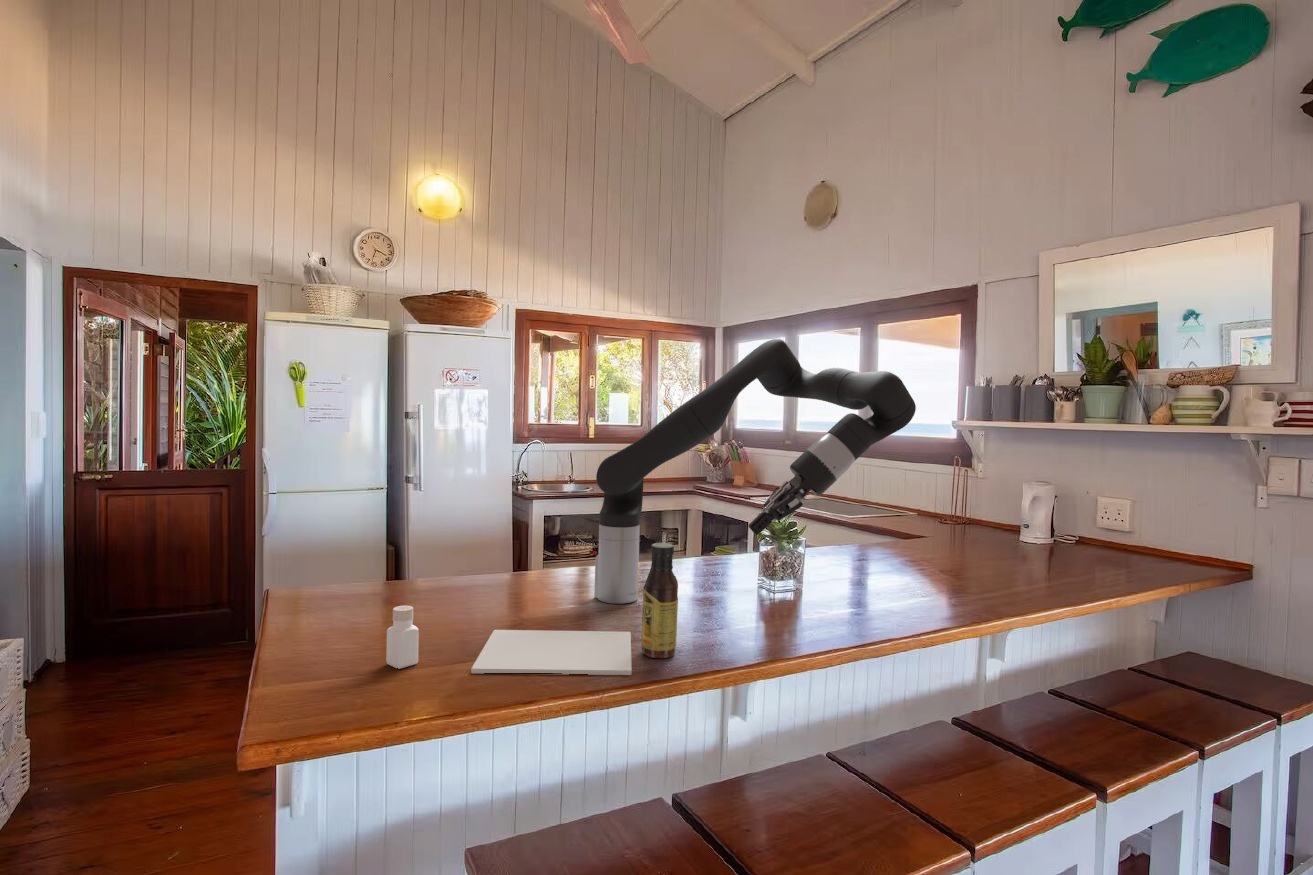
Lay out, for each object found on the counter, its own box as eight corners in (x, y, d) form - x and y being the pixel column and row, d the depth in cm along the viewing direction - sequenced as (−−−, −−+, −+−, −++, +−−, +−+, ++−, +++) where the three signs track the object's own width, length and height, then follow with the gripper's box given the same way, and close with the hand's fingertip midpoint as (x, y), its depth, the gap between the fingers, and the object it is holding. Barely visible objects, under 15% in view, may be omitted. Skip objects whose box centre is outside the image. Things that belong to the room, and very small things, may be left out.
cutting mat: (471, 673, 114) (471, 668, 114) (494, 633, 134) (494, 629, 134) (631, 675, 116) (631, 670, 116) (630, 635, 136) (630, 631, 135)
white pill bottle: (406, 658, 120) (407, 603, 120) (419, 664, 118) (420, 608, 117) (384, 664, 117) (385, 608, 117) (397, 670, 115) (398, 612, 114)
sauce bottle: (640, 648, 129) (643, 540, 128) (674, 648, 129) (677, 540, 128) (642, 660, 122) (645, 547, 121) (678, 660, 123) (681, 547, 122)
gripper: (848, 483, 119) (774, 553, 119) (826, 475, 132) (759, 538, 132) (818, 451, 119) (744, 521, 119) (799, 446, 132) (732, 510, 132)
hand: (752, 530), depth 126 cm, fingers closed
